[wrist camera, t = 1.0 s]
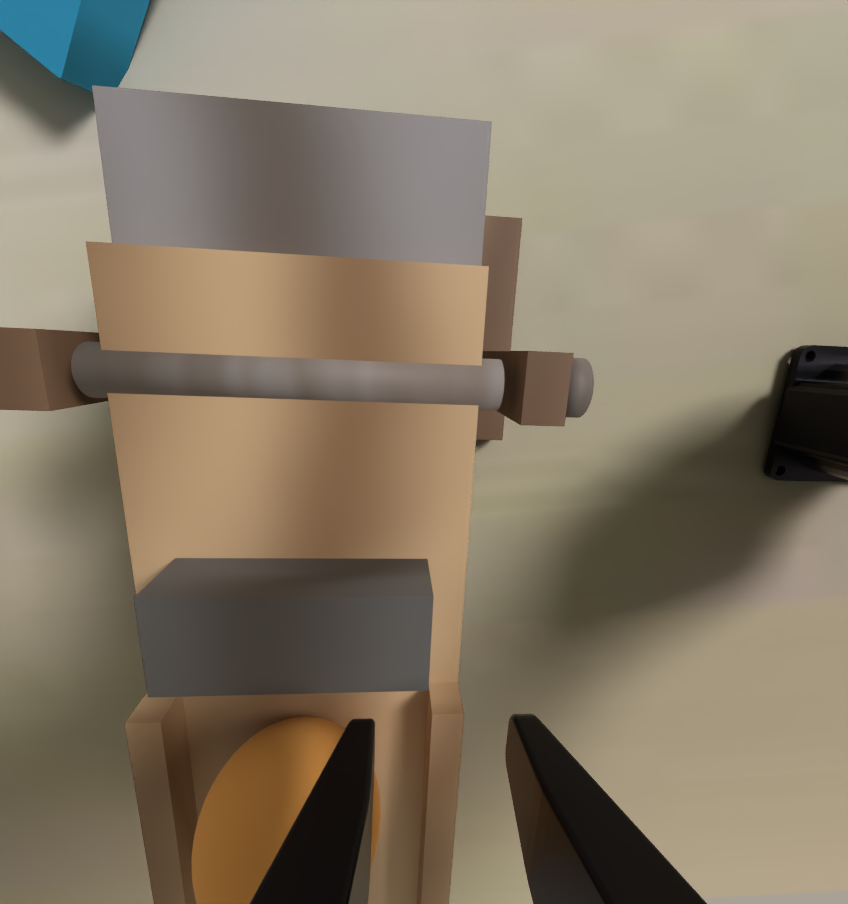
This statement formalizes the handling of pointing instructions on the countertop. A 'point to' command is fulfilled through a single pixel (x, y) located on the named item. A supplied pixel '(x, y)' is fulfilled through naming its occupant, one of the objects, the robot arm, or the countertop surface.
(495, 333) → the lever stand
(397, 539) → the tipping lever
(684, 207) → the countertop surface
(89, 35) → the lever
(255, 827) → the ball
